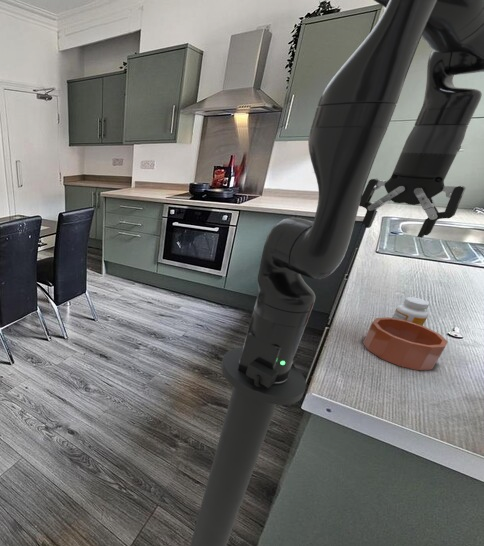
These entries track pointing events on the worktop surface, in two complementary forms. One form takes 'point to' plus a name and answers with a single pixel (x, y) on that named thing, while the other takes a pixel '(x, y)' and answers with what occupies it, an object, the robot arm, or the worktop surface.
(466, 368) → the worktop surface
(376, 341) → the pot
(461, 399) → the worktop surface
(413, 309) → the supplement bottle
